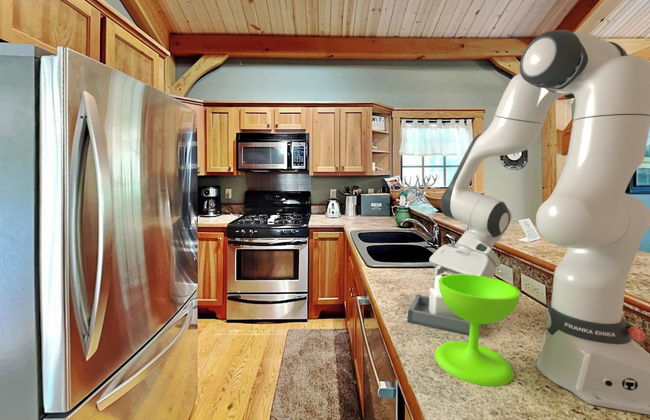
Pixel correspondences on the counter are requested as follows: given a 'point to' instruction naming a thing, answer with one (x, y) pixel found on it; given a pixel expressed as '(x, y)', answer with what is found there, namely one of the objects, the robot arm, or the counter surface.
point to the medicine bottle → (439, 301)
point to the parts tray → (435, 317)
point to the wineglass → (476, 327)
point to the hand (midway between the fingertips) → (443, 284)
